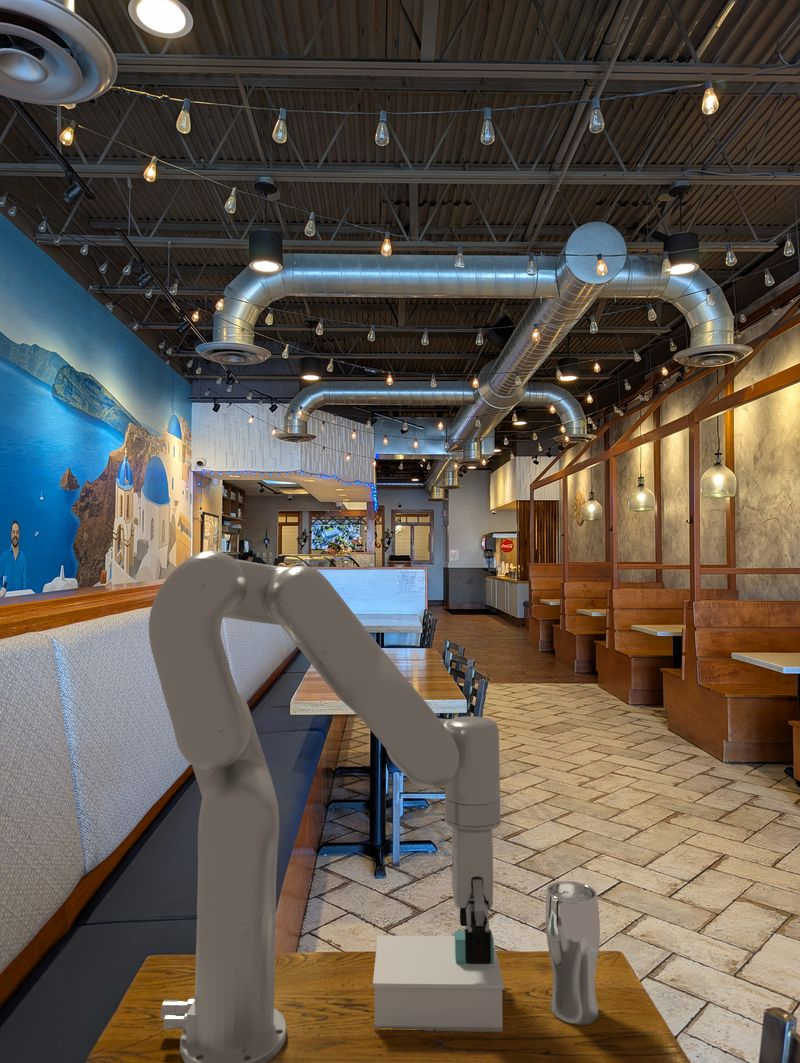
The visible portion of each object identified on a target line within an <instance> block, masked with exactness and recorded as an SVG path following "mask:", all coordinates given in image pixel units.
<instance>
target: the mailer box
mask: <svg viewBox="0 0 800 1063" xmlns="http://www.w3.org/2000/svg"><path fill="white" fill-rule="evenodd" d="M373 1021H374V1028H376V1029H377V1028H392V1029H417V1030H425V1031H424V1032H434V1031H433V1030H436V1031H435V1032H472V1033H473V1032H479V1033H483V1032H485V1033H486V1032H487V1033H489V1032H490V1033H491V1032H492V1033H494V1032H495V1033H503V1032H504V1030H503V989H449V988H374V1020H373Z"/></svg>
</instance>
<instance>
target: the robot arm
mask: <svg viewBox="0 0 800 1063" xmlns="http://www.w3.org/2000/svg"><path fill="white" fill-rule="evenodd" d="M224 618H227V619H233V620H238V621H246V622H253V623H260V624H261V623H262V624H268V625H278V626H281V628H282V629H283V630H284V631H285V633H286V634H287V635H288V637H289V638H290V639H291V640H292V642H294V644H295V645H296V646H297V647H298V649H299V650H300V651H301V652H302V654H303V655H304V656H305V658H306V659H307V661H308V662H309V663H310V664H311V665H312V667H313V668H314V669H315V671H316V672H317V673H318V674H319V675H320V677H321V678H322V679H323V681H324V682H325V684H327V686H328V687H329V688H330V690H331V691H332V692H333V693H334V694H335V695H336V696H337V697H338V699H339V700H341V702H343V703H344V704H345V706H347V707H348V708H349V709H350V710H352V712H354V713H355V714H356V715H357V716H358V718H359V719H360V720H361V721H363V723H364V724H365V725H366V726H367V728H368V729H369V730H370V732H372V733H373V735H374V736H375V737H376V738H377V739H378V741H379V742H380V743H381V745H382V746H383V747H384V748H385V750H386V753H387V756H388V758H389V760H391V763H393V765H394V766H395V767H396V768H397V769H398V770H399V771H401V773H403V774H404V775H405V776H406V778H407V779H409V781H410V782H412V784H414V785H416V786H417V787H419V788H423V789H427V790H428V789H429V790H431V789H432V790H433V789H439V788H442V787H444V795H445V796H444V807H445V808H444V809H445V810H444V811H445V812H444V813H445V814H444V817H445V824H446V825H448V827H450V828H452V830H451V832H452V833H451V889H452V895H453V896H452V897H453V901H454V902H453V903H454V907H455V908H456V909H457V910H459V923H460V924H459V925H460V926H461V927H466V928H464V931H465V959H466V963H467V964H490V963H491V929H490V921H489V920H490V919H489V910H490V909H491V908H492V907H493V906H494V905H493V902H494V848H493V847H494V845H493V844H494V843H493V839H494V838H493V830H494V829H497V828H499V826H500V825H501V822H502V821H501V817H502V816H501V778H500V776H501V774H500V772H501V770H500V766H501V765H500V764H501V763H500V733H499V732H500V730H499V727H498V726H499V725H498V724H497V723H496V722H495V721H494V720H493V719H491V718H487V717H482V716H458V717H454V718H439V717H438V716H437V715H436V713H435V712H434V711H433V709H431V707H430V706H429V705H428V703H427V702H426V701H425V700H424V699H423V697H422V696H421V695H420V694H419V692H418V691H417V690H416V688H415V687H414V686H413V685H412V684H411V683H410V681H409V680H408V679H407V678H406V676H404V675H403V673H402V672H401V671H400V670H399V669H398V667H397V666H396V664H395V663H394V662H393V661H392V659H391V658H390V657H389V656H388V654H387V653H386V652H385V651H384V650H383V648H381V646H380V645H379V643H378V642H377V641H376V640H375V638H374V637H373V636H372V635H371V633H370V632H369V631H368V630H367V629H366V627H364V625H363V623H362V622H361V621H360V620H359V618H358V617H357V616H356V614H355V613H354V612H353V611H352V609H351V608H350V607H349V606H348V604H347V603H346V602H345V601H344V599H343V597H342V596H341V595H340V593H339V592H337V590H336V589H335V588H334V586H333V585H332V584H331V582H330V581H329V579H328V578H327V577H325V575H323V573H321V572H320V571H319V570H318V569H315V568H313V567H311V566H307V565H295V566H292V567H290V566H289V567H288V566H280V565H272V564H266V563H260V562H259V563H258V562H253V561H248V560H242V559H237V558H234V557H233V556H231V555H229V554H228V553H225V552H222V551H219V550H205V551H201V552H198V553H195V554H194V555H193V554H192V555H191V556H190V557H188V558H186V559H185V560H184V561H182V562H181V563H180V564H179V565H178V566H177V567H176V568H175V569H174V570H173V571H172V572H171V573H170V574H169V575H168V576H167V578H166V579H165V580H164V581H163V582H162V584H161V586H160V587H159V589H158V591H157V593H156V594H155V597H154V599H153V602H152V605H151V608H150V612H149V618H148V636H149V644H150V649H151V654H152V658H153V662H154V665H155V668H156V670H157V675H158V679H159V681H160V686H161V690H162V693H163V694H162V695H163V697H164V701H165V704H166V707H167V711H168V714H169V717H170V720H171V721H170V722H171V724H172V727H173V732H174V736H175V742H176V745H177V748H178V749H179V751H180V754H181V755H182V756H183V757H184V759H185V760H186V761H187V762H188V763H189V764H190V765H191V766H192V769H193V772H194V775H195V779H196V781H197V785H198V788H199V791H200V794H201V804H200V808H199V817H198V830H197V896H196V898H197V900H196V901H197V902H196V914H197V915H196V916H197V918H196V944H195V945H196V947H195V948H196V949H195V955H196V956H195V983H194V984H195V985H194V997H189V998H188V1000H179V999H164V1000H163V1002H162V1005H161V1008H160V1019H163V1029H164V1030H175V1029H182V1032H181V1035H180V1039H179V1053H180V1057H181V1059H182V1061H183V1062H184V1063H267V1062H269V1061H270V1060H272V1059H273V1058H274V1057H275V1056H276V1055H277V1054H278V1053H279V1052H280V1050H281V1049H282V1048H283V1046H284V1045H285V1041H286V1039H287V1021H286V1019H285V1017H284V1015H283V1014H282V1012H281V1011H279V1010H278V1009H277V1008H275V981H276V980H275V979H276V978H275V977H276V976H275V975H276V973H275V972H276V971H275V970H276V929H277V926H276V923H277V922H276V921H277V919H276V918H277V917H276V916H277V913H276V912H277V871H278V870H277V865H278V850H279V849H278V848H279V836H280V813H279V805H278V804H279V803H278V799H277V793H276V790H275V788H274V784H273V779H272V776H271V772H270V770H269V767H268V764H267V761H266V757H265V754H264V752H263V749H262V745H261V741H260V739H259V736H258V732H257V729H256V726H255V724H254V720H253V717H252V714H251V710H250V708H249V705H248V703H247V701H246V699H245V698H244V696H243V695H242V694H241V693H240V692H239V691H238V689H237V686H236V684H235V681H234V678H233V675H232V674H233V673H232V671H231V668H230V665H229V660H228V656H227V654H226V650H225V647H224V644H223V640H222V634H221V629H222V628H221V627H222V622H223V619H224Z"/></svg>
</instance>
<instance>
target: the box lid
mask: <svg viewBox="0 0 800 1063" xmlns="http://www.w3.org/2000/svg"><path fill="white" fill-rule="evenodd" d="M490 931H491V930H490ZM372 978H373V979H372V988H374V989H375V988H449V989H502V990H505V984H504V978H503V975H502V969H501V967H500V962H499V957H498V954H497V950H496V945H495V941H494V937H493V931H491V963H490V964H467V963H466V959H465V930H454V935H451V936H448V935H444V936H443V935H377V941H376V950H375V959H374V970H373V976H372Z"/></svg>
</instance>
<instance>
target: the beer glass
mask: <svg viewBox="0 0 800 1063" xmlns="http://www.w3.org/2000/svg"><path fill="white" fill-rule="evenodd" d="M545 900H546V901H545V933H546V941H547V946H548V953H549V958H550V963H551V970H552V981H553V983H552V994H551V1000H550V1010H551V1012H552V1014H553V1015H554V1016H555V1017H556V1019H559V1020H560V1021H562V1022H564V1023H567V1024H570V1025H575V1026H586V1025H590V1024H592V1023H594V1022H595V1021H596V1020H598V1018H599V1007H598V1006H599V1005H598V1000H597V997H596V987H595V984H596V982H595V980H596V971H597V965H598V958H599V952H600V951H599V950H600V940H601V938H600V937H601V936H600V935H601V930H600V929H601V926H600V925H601V924H600V912H599V901H598V892H597V891H596V890H595V889H594V887H592V886H590V885H587V884H585V883H582V882H577V881H570V880H562V881H555V882H553V883H551V884H549V885H547V887H546V898H545Z"/></svg>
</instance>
